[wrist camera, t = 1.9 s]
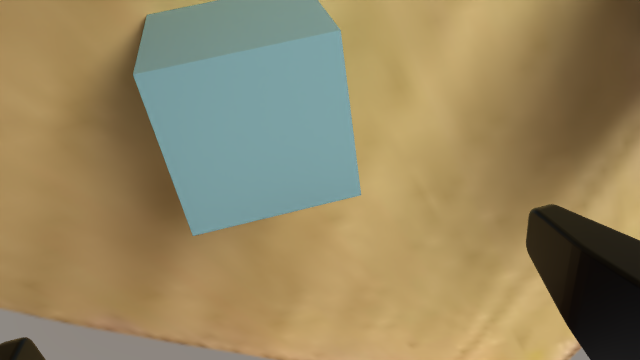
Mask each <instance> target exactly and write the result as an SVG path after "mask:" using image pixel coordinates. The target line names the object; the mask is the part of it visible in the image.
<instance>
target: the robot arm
mask: <svg viewBox="0 0 640 360" xmlns="http://www.w3.org/2000/svg"><path fill="white" fill-rule="evenodd" d="M526 247H527V251H528V254H529V256H530V258H531V260H532V261H533V263H534V265H535V267H536V269H537V271H538V273H539V275H540V276H541V278H542V280H543V282H544V284H545V286H546V288H547V289H548V291H549V293H550V295H551V297H552V299H553V301H554V303H555V304H556V306H557V308H558V310H559V312H560V314H561V315H562V317H563V319H564V321H565V322H566V324H567V326H568V327H569V329H570V330H571V332H572V333H573V335H574V336H575V338H576V339H577V341H578V342H579V344H580V345H581V347H582V348H583V350H584V351H585V352H586V354H587V355H588V357H589V358H590V360H640V240H637V239H635V238H633V237H630V236H628V235H626V234H623V233H621V232H618V231H616V230H614V229H611V228H609V227H607V226H604V225H602V224H600V223H597V222H595V221H593V220H590V219H588V218H585V217H583V216H581V215H578V214H576V213H574V212H571V211H569V210H567V209H564V208H562V207H559V206H557V205H553V204H551V205H546V206H542V207H538V208H534V209H532V210H531V211H530V213H529V218H528V228H527V237H526ZM0 360H45V358H44V357H43V356H42V354H41V353H40V351H39V350H38V348H37V347H36V346H35V344H34V343H33V342H32V340H30V339H29V338H27V337H25V338H19V339H15V340H11V341H7V342H4V343H2V344H0Z"/></svg>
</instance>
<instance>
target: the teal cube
mask: <svg viewBox="0 0 640 360" xmlns="http://www.w3.org/2000/svg"><path fill="white" fill-rule="evenodd" d="M133 76H134V79H135V82H136V84H137V87H138V90H139V92H140V95H141V98H142V100H143V103H144V106H145V108H146V111H147V114H148V117H149V119H150V122H151V125H152V127H153V130H154V133H155V135H156V138H157V141H158V143H159V146H160V149H161V151H162V154H163V157H164V159H165V162H166V165H167V168H168V170H169V173H170V176H171V178H172V181H173V184H174V186H175V189H176V192H177V194H178V197H179V200H180V202H181V205H182V208H183V210H184V213H185V216H186V219H187V221H188V224H189V227H190V229H191V232H192V235H193V236H195V235H199V234H203V233H207V232H211V231H216V230H220V229H224V228H228V227H232V226H236V225H240V224H244V223H248V222H253V221H257V220H261V219H265V218H269V217H273V216H277V215H281V214H285V213H290V212H294V211H298V210H302V209H306V208H310V207H314V206H318V205H322V204H327V203H331V202H335V201H339V200H343V199H347V198H351V197H355V196H359V195H361V190H360V182H359V174H358V166H357V158H356V150H355V142H354V134H353V126H352V118H351V110H350V102H349V94H348V86H347V78H346V70H345V62H344V54H343V46H342V38H341V30H340V29H339V27H338V26H337V25H336V24H335V22H334V21H333V20H332V18H331V17H330V16H329V14H328V13H327V12H326V10H325V9H324V8H323V7H322V5H321V4H320V3H319V1H318V0H217V1H212V2H208V3H203V4H198V5H193V6H188V7H183V8H178V9H173V10H169V11H164V12H159V13H154V14H149V15H147V17H146V21H145V25H144V30H143V34H142V38H141V42H140V47H139V51H138V55H137V59H136V64H135V68H134V72H133Z"/></svg>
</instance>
